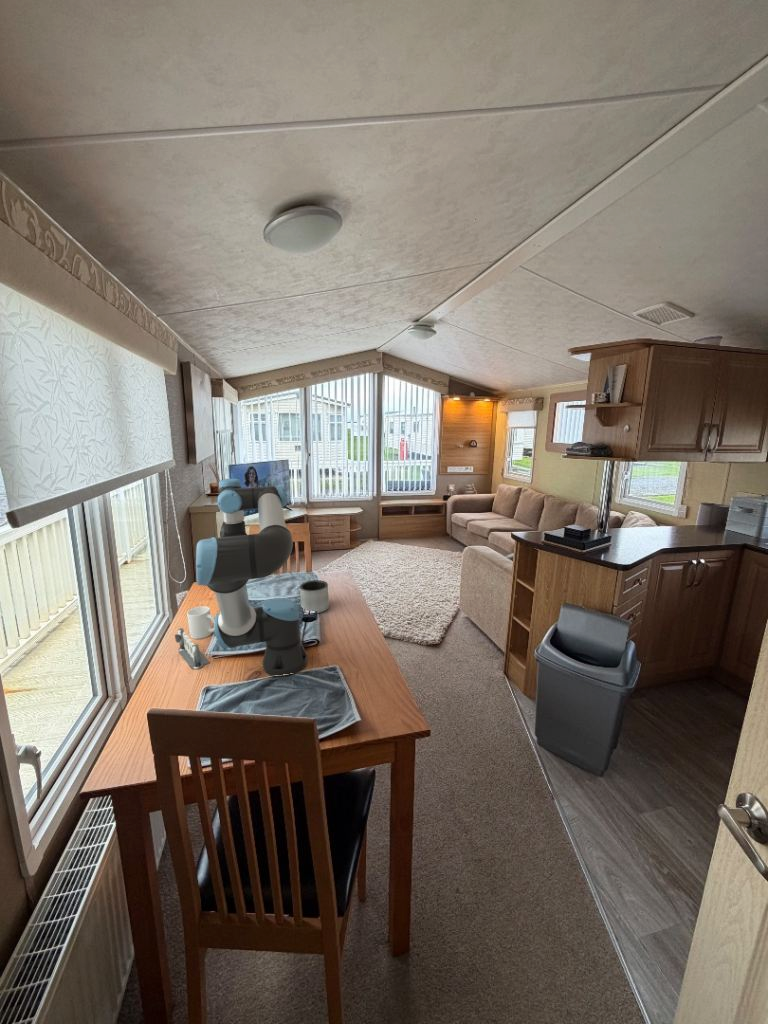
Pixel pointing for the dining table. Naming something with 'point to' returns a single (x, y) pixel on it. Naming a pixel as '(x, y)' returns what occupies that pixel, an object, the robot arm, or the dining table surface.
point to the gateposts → (195, 648)
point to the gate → (188, 644)
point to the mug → (200, 622)
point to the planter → (314, 595)
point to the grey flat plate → (190, 660)
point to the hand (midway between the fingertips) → (240, 581)
